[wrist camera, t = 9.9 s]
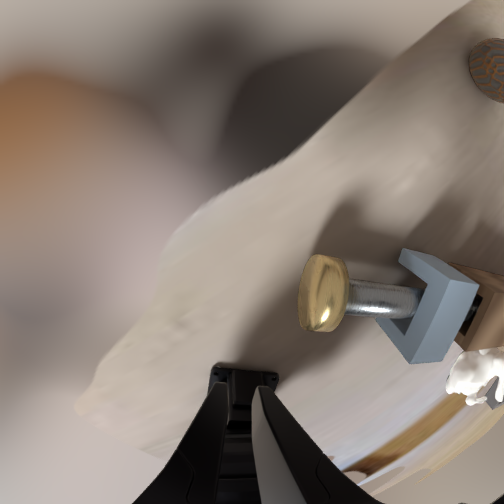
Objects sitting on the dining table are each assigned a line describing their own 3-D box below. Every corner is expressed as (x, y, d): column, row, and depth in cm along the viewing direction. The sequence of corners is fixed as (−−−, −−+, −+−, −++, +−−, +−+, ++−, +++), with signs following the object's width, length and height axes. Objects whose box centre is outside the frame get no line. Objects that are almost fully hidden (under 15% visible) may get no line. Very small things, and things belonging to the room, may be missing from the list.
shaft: (476, 276, 22) (506, 297, 17) (458, 318, 24) (485, 342, 19) (310, 244, 19) (334, 272, 15) (293, 306, 21) (308, 346, 16)
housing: (511, 278, 25) (544, 299, 18) (494, 316, 27) (524, 341, 20) (448, 262, 23) (494, 292, 16) (427, 314, 25) (465, 351, 18)
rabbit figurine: (487, 314, 26) (530, 353, 17) (499, 329, 28) (535, 362, 19) (434, 382, 30) (466, 428, 21) (453, 388, 31) (481, 427, 22)
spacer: (375, 319, 23) (409, 364, 17) (402, 247, 21) (450, 279, 15) (406, 321, 24) (441, 361, 18) (433, 255, 22) (479, 284, 15)
